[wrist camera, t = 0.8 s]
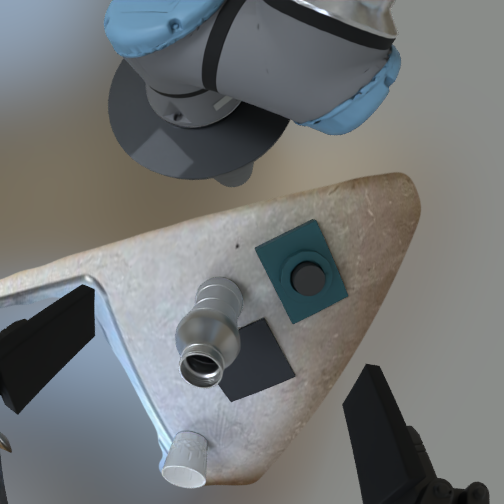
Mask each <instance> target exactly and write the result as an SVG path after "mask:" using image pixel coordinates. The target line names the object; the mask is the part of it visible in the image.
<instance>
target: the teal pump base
mask: <svg viewBox="0 0 504 504" xmlns="http://www.w3.org/2000/svg"><path fill="white" fill-rule="evenodd" d="M255 251H256V253H257V255H258V256H259V258H260V260H261V262H262V264H263V266H264V268H265V270H266V272H267V274H268V276H269V278H270V280H271V282H272V284H273V286H274V288H275V290H276V292H277V294H278V296H279V298H280V300H281V302H282V304H283V306H284V308H285V310H286V312H287V314H288V316H289V318H290V320H291V322H292V324H295V323H297V322H299V321H301V320H303V319H305V318H307V317H309V316H311V315H313V314H315V313H317V312H319V311H321V310H323V309H325V308H327V307H329V306H331V305H333V304H334V303H336V302H338V301H340V300H342V299H344V298H346V297H348V294H347V291H346V289H345V286H344V284H343V281H342V279H341V276H340V274H339V271H338V269H337V267H336V264H335V262H334V260H333V257H332V255H331V253H330V250H329V248H328V246H327V243H326V241H325V239H324V237H323V234H322V232H321V230H320V228H319V226H318V223H317V221H316V220H313V219H312V220H310V221H308V222H306V223H304V224H302V225H300V226H298V227H296V228H294V229H292V230H290V231H288V232H285V233H283V234H281V235H279V236H277V237H275V238H273V239H271V240H269V241H267V242H265V243H263V244H261V245H259V246H257V247H255ZM305 262H310V263H313V264H315V265H317V266H318V267H319V268H320V269H321V270H322V271H323V273H324V275H325V284H324V287H323V289H322V290H321V291H320V292H319V293H318V294H316V295H313V296H304V295H302V294H300V293H299V292H298V291H297V290H296V288H295V286H294V285H293V282H292V274H293V271H294V269H295V268H296V267H297V266H298V265H300V264H302V263H305Z"/></svg>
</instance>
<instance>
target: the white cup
mask: <svg viewBox="0 0 504 504" xmlns="http://www.w3.org/2000/svg"><path fill="white" fill-rule="evenodd" d="M206 470H207V441H206V440H205V438H204V437H203V436H201V435H199V434H198V433H194V432H190V431H183V432H180V433H177V435H176V436H175V437H174V440H173V443H172V445H171V447H170V450H169V452H168V455H167V458H166V460H165V463H164V466H163V469H162V476H163V477H164V478H165V479H166V480H167V481H168V482H170V483H172V484H174V485H176V486H179V487H184V488H198V487H201V486H203V485H204V484H205V482H206Z"/></svg>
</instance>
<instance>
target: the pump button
mask: <svg viewBox="0 0 504 504" xmlns="http://www.w3.org/2000/svg"><path fill="white" fill-rule="evenodd" d="M292 282H293V285H294V286H295V288H296V290H297V291H298V292H299V293H300V294H302V295H304V296H313V295H316V294H318V293H319V292H320V291H321V290H322V289H323V287H324V284H325V275H324V273H323V271H322V270H321V269H320V268H319V267H318V266H317V265H315V264H313V263H310V262H305V263H302V264H300V265H298V266H297V267H296V268H295V269H294V271H293V274H292Z"/></svg>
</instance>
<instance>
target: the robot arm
mask: <svg viewBox="0 0 504 504" xmlns="http://www.w3.org/2000/svg"><path fill="white" fill-rule="evenodd" d="M395 1H396V0H112V2H111V3H110V5H109V7H108V9H107V12H106V14H105V19H104V27H105V28H104V29H105V33H106V36H107V37H108V39H109V41H110V42H111V44H112V45H113V48H114V50H115V51H116V52H117V54H119V55H120V56H122V57H123V58H124V59H125V60H126V61H127V62H128V63H129V64H130V65H131V66H132V68H133V69H134V70H135V71H136V72H137V73H138V74H139V75H140V76H141V78H142V79H143V80H144V81H145V82H146V93H147V98H148V101H149V103H150V105H151V107H152V109H153V110H154V111H155V113H156V114H157V115H158V116H159V117H160V118H162V119H163V120H164V121H165V122H167V123H169V124H171V125H173V126H176V127H179V128H184V129H201V128H206V127H210V126H213V125H215V124H218V123H220V122H222V121H223V120H225V119H226V118H228V117H229V116H231V115H232V114H233V113H234V112H235V111H236V110H237V109H238V108H239V106H240V105H241V104H242V102H243V101H244V102H247V103H249V104H252V105H255V106H258V107H260V108H263V109H266V110H268V111H271V112H273V113H276V114H279V115H281V116H284V117H286V118H288V119H291V120H293V121H294V122H295V123H296V124H298V125H302V126H308V127H311V128H313V129H316V130H318V131H321V132H323V133H325V134H328V135H342V134H346V133H348V132H351V131H352V130H354V129H356V128H357V127H359V126H360V125H361V124H362V123H364V122H365V121H366V120H367V119H368V118H369V117H370V116H371V115H372V114H373V113H374V112H375V111H376V109H377V108H378V107H379V106H380V104H381V103H382V102H383V100H384V99H385V98H386V96H387V95H388V93H389V86H390V85H391V84H392V83H393V82H394V81H395V80H396V78H397V75H398V73H399V70H400V66H401V57H400V54H399V52H398V50H397V49H396V48H395V46H394V45H392V43H393V42H394V40H395V39H396V37H397V35H398V30H397V27H396V24H395V22H394V19H393V16H392V13H391V8H392V6H393V5H394V3H395ZM94 297H95V289H93V288H90V287H88V286H85V285H83V284H82V285H81V286H79V287H77V288H76V289H74V290H73V291H71V292H70V293H68V294H66V295H65V296H63V297H62V298H60V299H59V300H57V301H56V302H54V303H53V304H51V305H50V306H48V307H47V308H45V309H44V310H42V311H41V312H39V313H38V314H36V315H35V316H33V317H32V318H31V319H29V320H26V319H22V320H19V321H16V322H14V323H12V324H11V325H9V326H8V327H7V328H6V329H4V330H2V331H1V332H0V395H1V396H2V398H3V401H4V403H5V405H6V406H7V407H9V408H10V409H11V410H13V411H14V412H15V413H16V414H19V413H20V412H21V411H22V410H23V408H24V407H25V406H26V405H27V404H28V403H29V402H30V401H31V400H32V399H33V398H34V397H35V396H36V395H37V394H38V393H39V391H40V390H41V389H42V388H43V387H44V386H45V385H46V384H47V383H48V382H49V381H50V380H51V379H52V378H53V377H54V376H55V375H56V374H57V373H58V372H59V371H60V370H61V369H62V368H63V367H64V366H65V365H66V364H67V363H68V362H69V361H70V360H71V359H72V358H73V357H74V356H75V355H76V354H77V353H78V352H79V351H80V350H81V349H82V348H83V347H84V346H85V345H86V344H87V343H88V342H89V341H90V340H91V339H92V338H93V337H94V336H95V318H94ZM343 409H344V414H345V418H346V422H347V427H348V431H349V436H350V440H351V444H352V449H353V454H354V459H355V463H356V468H357V474H358V479H359V484H360V489H361V495H362V500H363V504H489V491H488V489H487V487H486V486H485V485H484V484H483V483H480V482H474V483H472V484H470V485H469V486H468V487H467V488H466V489H457V488H456V489H455V488H453V487H452V486H451V484H450V483H449V482H448V481H446V480H445V479H441V478H437V476H436V474H435V471H434V469H433V466H432V464H431V461H430V459H429V456H428V454H427V452H426V449H425V447H424V445H422V443H423V442H422V440H421V438H420V435H419V434H418V433H417V431H416V430H415V429H414V428H413V427H412V426H406V423H405V421H404V419H403V417H402V414H401V412H400V410H399V407H398V405H397V403H396V401H395V399H394V396H393V394H392V392H391V390H390V387H389V385H388V383H387V381H386V379H385V377H384V375H383V372H382V370H381V368H380V366H377V365H370V364H366V365H365V367H364V369H363V370H362V372H361V374H360V376H359V377H358V379H357V381H356V383H355V384H354V386H353V388H352V389H351V391H350V393H349V395H348V396H347V398H346V399H345V401H344V403H343ZM0 504H8V501H7V497H6V492H5V486H4V480H3V473H2V466H1V456H0Z"/></svg>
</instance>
